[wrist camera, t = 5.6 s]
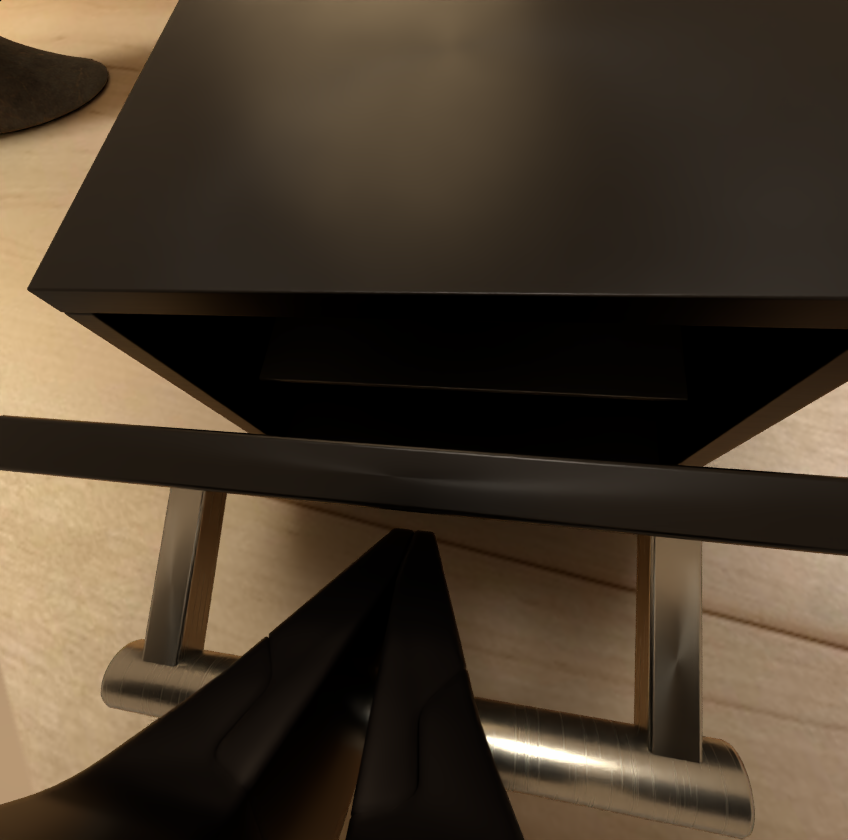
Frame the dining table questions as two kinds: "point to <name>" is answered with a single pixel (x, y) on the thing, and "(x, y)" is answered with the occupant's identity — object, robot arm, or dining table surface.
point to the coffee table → (43, 85)
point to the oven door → (484, 499)
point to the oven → (479, 221)
